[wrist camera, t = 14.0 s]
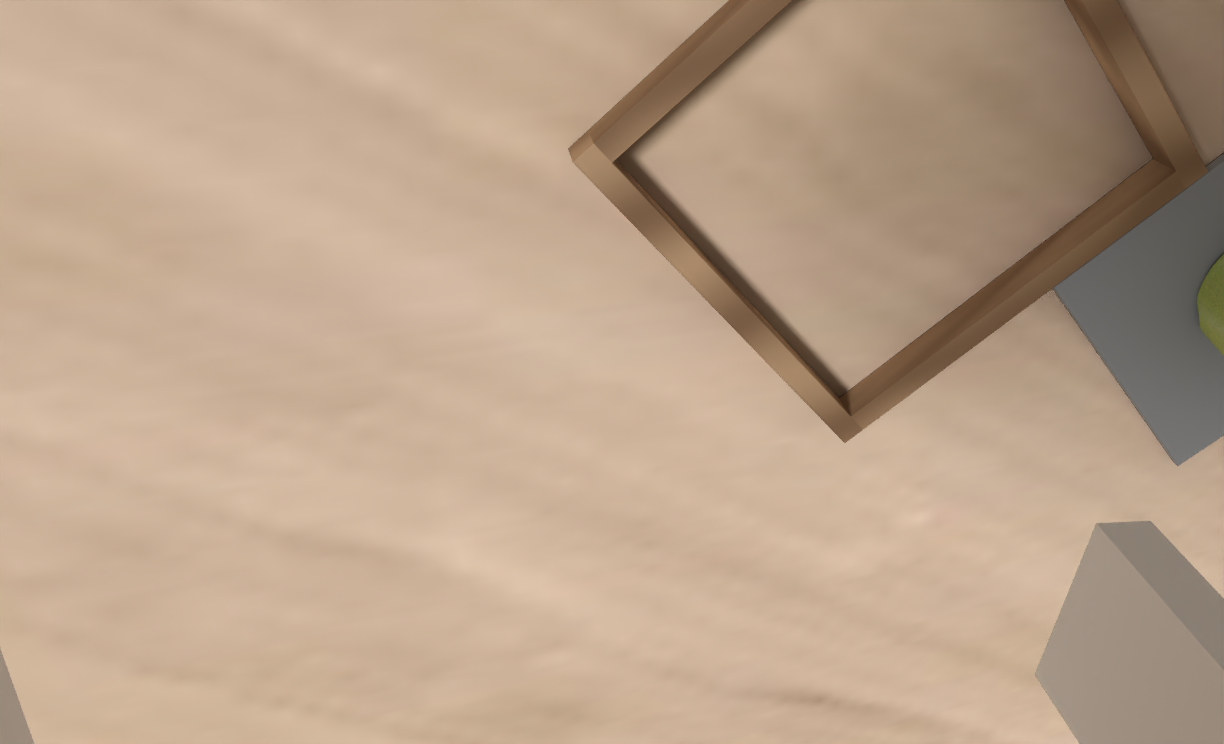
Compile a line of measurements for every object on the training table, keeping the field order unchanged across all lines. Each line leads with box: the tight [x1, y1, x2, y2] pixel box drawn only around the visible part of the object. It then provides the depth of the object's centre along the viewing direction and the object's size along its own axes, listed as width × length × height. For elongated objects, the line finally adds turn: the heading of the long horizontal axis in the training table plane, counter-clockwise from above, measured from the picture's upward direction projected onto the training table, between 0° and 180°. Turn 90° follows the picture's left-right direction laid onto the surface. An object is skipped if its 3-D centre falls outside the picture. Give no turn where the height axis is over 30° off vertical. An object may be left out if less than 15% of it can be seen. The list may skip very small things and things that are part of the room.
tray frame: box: [569, 0, 1208, 443], centre depth 38 cm, size 18×18×2 cm
